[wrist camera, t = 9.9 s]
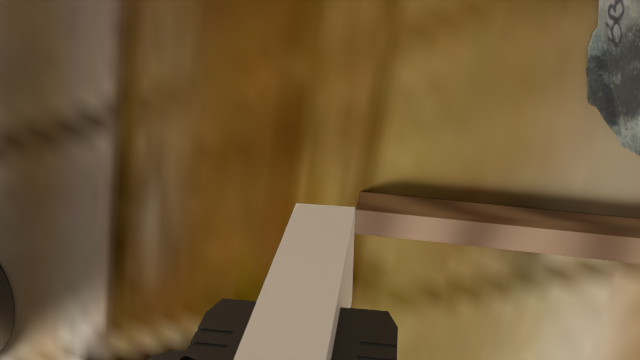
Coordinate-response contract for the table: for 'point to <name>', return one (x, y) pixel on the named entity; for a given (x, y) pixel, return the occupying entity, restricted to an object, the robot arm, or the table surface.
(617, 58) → the stone block
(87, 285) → the table surface
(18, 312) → the table surface
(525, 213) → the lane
